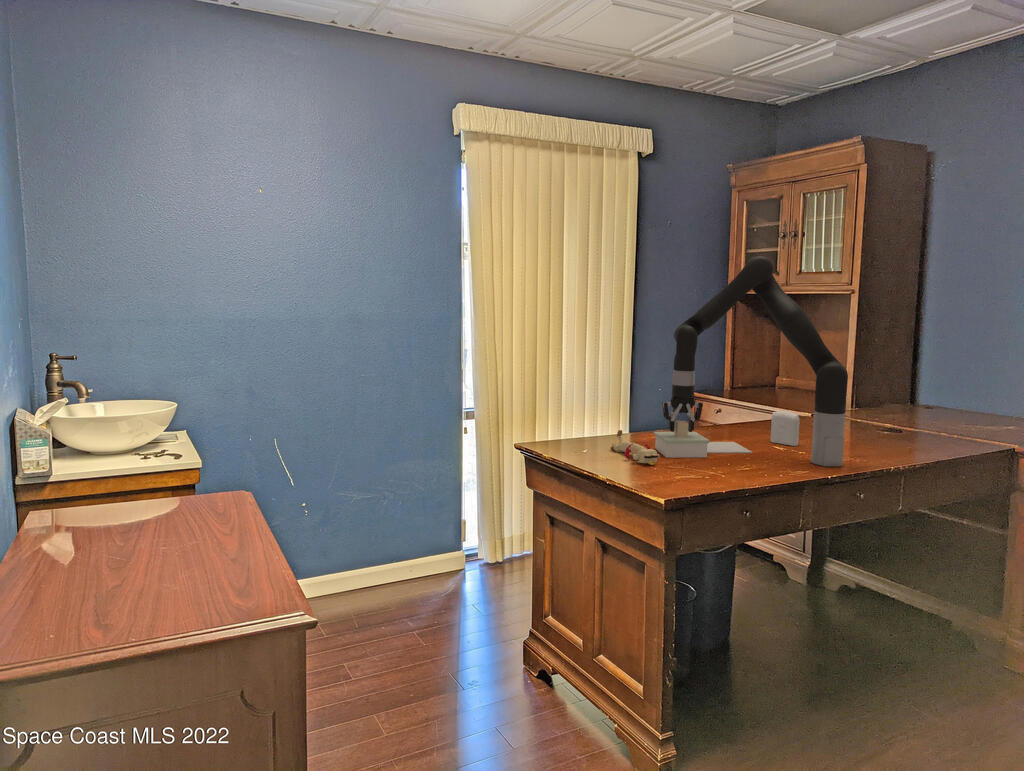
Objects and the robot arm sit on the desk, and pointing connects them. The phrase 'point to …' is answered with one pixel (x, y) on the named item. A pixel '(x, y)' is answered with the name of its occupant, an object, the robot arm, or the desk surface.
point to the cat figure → (635, 451)
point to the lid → (681, 435)
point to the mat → (726, 448)
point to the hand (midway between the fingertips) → (681, 431)
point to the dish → (681, 449)
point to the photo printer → (785, 428)
